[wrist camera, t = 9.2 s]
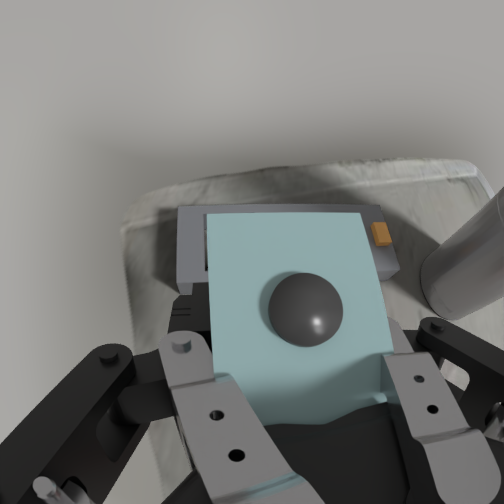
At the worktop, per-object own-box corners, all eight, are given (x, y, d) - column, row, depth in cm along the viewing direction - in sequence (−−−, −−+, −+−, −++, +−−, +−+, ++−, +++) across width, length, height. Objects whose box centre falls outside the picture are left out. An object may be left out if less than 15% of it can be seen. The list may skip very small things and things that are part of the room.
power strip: (180, 294, 28) (175, 279, 25) (180, 222, 32) (177, 201, 28) (386, 280, 31) (404, 266, 28) (369, 219, 35) (382, 200, 31)
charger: (218, 411, 14) (219, 439, 5) (212, 319, 16) (206, 209, 7) (295, 403, 14) (406, 404, 5) (284, 315, 17) (362, 208, 8)
